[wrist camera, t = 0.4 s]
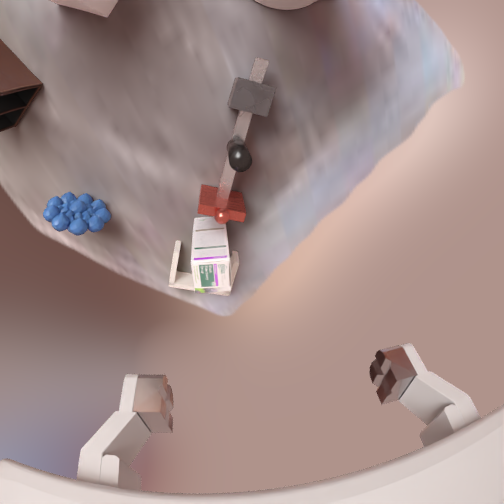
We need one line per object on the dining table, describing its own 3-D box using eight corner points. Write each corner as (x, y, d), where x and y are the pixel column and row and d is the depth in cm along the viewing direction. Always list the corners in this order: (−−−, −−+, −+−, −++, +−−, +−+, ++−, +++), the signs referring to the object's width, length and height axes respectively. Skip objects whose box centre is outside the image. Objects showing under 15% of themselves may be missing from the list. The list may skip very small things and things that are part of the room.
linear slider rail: (236, 55, 38) (243, 46, 28) (280, 67, 40) (301, 63, 30) (199, 194, 50) (195, 228, 40) (238, 202, 52) (245, 237, 42)
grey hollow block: (235, 77, 41) (238, 77, 35) (268, 86, 42) (276, 87, 36) (227, 103, 43) (229, 107, 37) (260, 112, 44) (267, 117, 39)
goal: (176, 240, 55) (173, 251, 52) (237, 251, 58) (239, 263, 55) (170, 273, 59) (168, 286, 56) (228, 283, 62) (229, 296, 59)
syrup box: (193, 217, 53) (187, 263, 41) (226, 214, 54) (230, 260, 42) (196, 244, 56) (192, 294, 44) (227, 242, 57) (232, 291, 45)
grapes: (59, 207, 48) (30, 239, 38) (66, 176, 45) (34, 203, 35) (110, 228, 52) (90, 264, 42) (120, 197, 49) (98, 229, 39)
